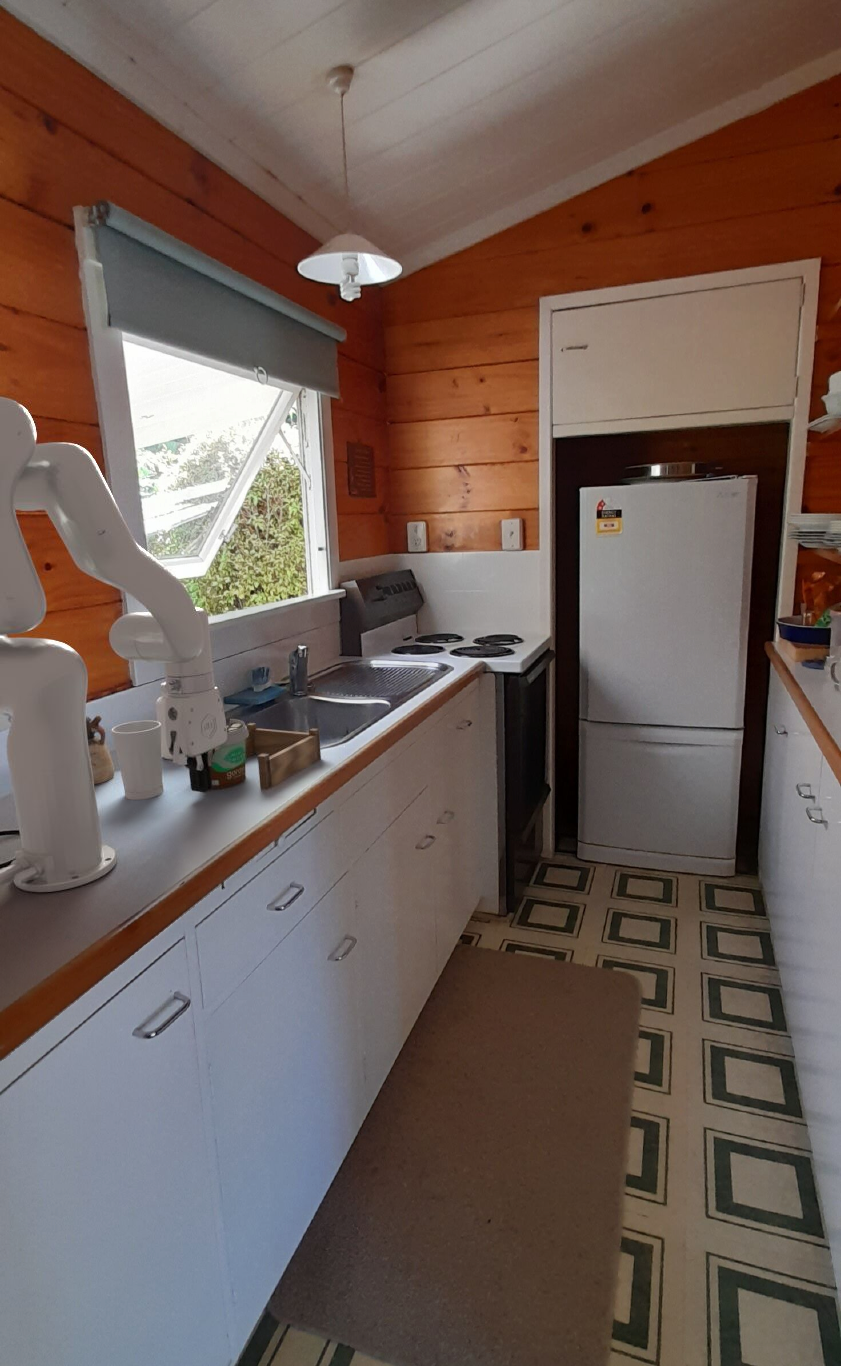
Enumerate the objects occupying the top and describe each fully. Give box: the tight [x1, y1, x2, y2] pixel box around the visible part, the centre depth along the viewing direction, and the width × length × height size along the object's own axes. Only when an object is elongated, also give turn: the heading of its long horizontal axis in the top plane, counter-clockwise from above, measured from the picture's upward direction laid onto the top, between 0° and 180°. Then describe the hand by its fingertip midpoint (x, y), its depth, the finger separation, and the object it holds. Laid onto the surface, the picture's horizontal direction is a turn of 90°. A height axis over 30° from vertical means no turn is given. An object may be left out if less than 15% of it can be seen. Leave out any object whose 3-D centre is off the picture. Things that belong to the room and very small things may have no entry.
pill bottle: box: [155, 681, 173, 761], centre depth 148 cm, size 8×8×15 cm
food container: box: [209, 718, 249, 790], centre depth 131 cm, size 12×6×10 cm, turn 162°
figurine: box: [86, 715, 115, 785], centre depth 136 cm, size 7×7×12 cm
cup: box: [111, 720, 164, 801], centre depth 127 cm, size 8×8×12 cm
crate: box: [193, 722, 322, 791], centre depth 138 cm, size 18×16×6 cm
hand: (201, 789), depth 124 cm, fingers closed
